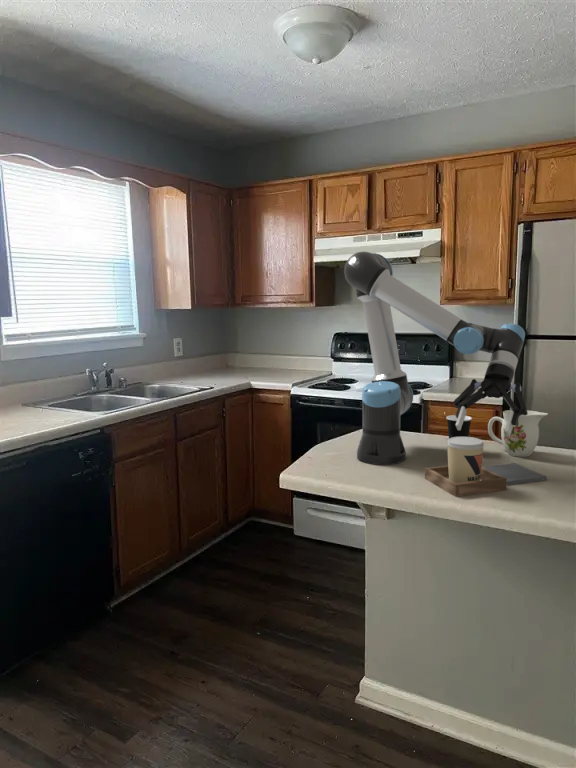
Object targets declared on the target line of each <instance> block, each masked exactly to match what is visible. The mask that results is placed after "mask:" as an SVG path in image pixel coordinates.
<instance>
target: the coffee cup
mask: <svg viewBox="0 0 576 768" xmlns="http://www.w3.org/2000/svg"><path fill="white" fill-rule="evenodd" d="M446 445H447V466H448V470H449V477H448V479H450V480H451V481H453V482H455V483H465V482H472V481H480V480H481V479H480V474H481V467H482V465H483V464H482V463H483V453H484V446H485V444H484V441H483V440H481V438H477V437H473V436H472V437H471V436H469V437H452V438H449V437H448V440H447V442H446Z"/></svg>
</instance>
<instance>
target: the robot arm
mask: <svg viewBox="0 0 576 768" xmlns="http://www.w3.org/2000/svg"><path fill="white" fill-rule="evenodd" d="M343 272H344V278H345V280H346V281H347V283H348V284H349V285H350V286H351V287H352V288H354V289H355V292H356V299H357V300H359V301H361V303H362V306H363V307H362V308H363V312H364V319H365V323H366V329H367V336H368V342H369V347H370V348H369V349H370V353H371V358H372V364H373V369H374V371H373V372H374V374H373V376H372V377H371V382H369V383H367V384H366V385H364V387H363V388H362V395H361V400H362V401H361V404H362V406H361V407H362V410H361V411H362V416H361V417H362V434H361V437H360V439H359V443H358V445H357V449H356V457H357V458H356V459H357V460H358V461H360V462H363V463H367V464H370V465H371V464H372V465H394V464H399V463H402V462H405V460H406V457H407V455H406V454H407V453H406V448H405V446H404V441H403V439H402V435H401V416H402V415H403V414H405V413H407V411H409V409H410V408H411V406H412V404H413V401H414V392H413V389H412V387H411V385H410V384H409V382H408V381H409V380H408V376H407V373H406V372H405V371H403V370H402V369H401V362H400V356H399V350H398V349H399V348H398V344H397V339H396V331H395V327H394V326H395V325H394V322H393V314H392V309H391V307H392V308H393V309H394V310H397V311H399V312H400V313H401V314H403V315H404V316H406V317H408V318H410V319H411V320H413V321H414V322H416V323H418V324H419V325H420V326H422V327H424V328H425V329H427V330H429V331H430V332H432V333H433V334H435V335H437V336H439V338H441V339H443V340H445V342H448V343H449V344H450V345H452V346H454V348H455V349H456V350H457V352H459V353H460V354H464V355H473V354H475V353H478V351H479V352H480V351H481V352H483V353H484V352H485V353H489V354H491V356H490V359H489V361H488V364H487V368H486V371H485V374H484V378H483V380H481V381H477V379H475V378H474V379H472V380H471V381H470V384H469V385H468V386H466V388H465V389H464V390H462V392H461V393H460V394H459V395H458V396H457V397H456V398H455V399H454V400H453V406H454V408H455V409H457V410H456V412H455V415H456V417H457V422H456V424H455V425H456V428H457V430H461V427H462V424H463V421H464V418H465V416H467V409H468V408H470V407H471V406H473V405H474V404H476V403H478V402H479V401H480V400H482V399H486V398H495V399H500V398H503V400H504V401H505V402H506V403H507V405H508V406H509V409H510V410H512V411H510V415H509V418H508V422H507V425H506V428H505V433H506V436H507V437H510V434H511V430H512V427H513V425H517V422H518V419H519V416H520V415H527V414H528V413H527V410H528V409H527V407H526V403H525V401H524V398H523V395H522V391H523V388H522V386H521V385H522V384H521V382H518V381H517V382H516V383H515V384H514V383H513V378H514V376H515V372H516V369H517V365H518V363H519V359H520V356H521V352H522V349H523V346H524V342H525V337H526V332H525V330H524V328H523V327H521V325H519V324H517V323H505V324H502V326H501V327H500V329H499V328H492V327H490V326H489V327H488V326H484V325H479V324H475V323H472V322H467V321H465V320H464V319H462V318H461V317H460V316H458V315H456V314H453V313H452V312H451V311H449V310H447V309H446V308H444V307H442V306H441V305H440V304H438V303H436V302H435V301H433V300H432V299H429V298H428V297H427V296H425V295H424V294H422V293H420V292H418V291H417V290H415V289H414V288H412V287H410V286H409V285H407V284H405V283H404V282H402V281H401V280H399V279H397V278H396V277H395V276H393V267H392V264H391V263H390V261H389V260H388V259H387V258H386V257H385V256H383V255H381V254H379V253H373V252H368V251H360V252H355V253H353V254H352V255H351V256H350V257H349V258H348V259H347V261H346V263H345V265H344V269H343ZM476 390H477V391H476ZM511 390H512V391H513V392H514V393H516V397H517V400H518V403H519V407H520V408H519V407H518V406H517V405H516V403H515V402H514V400H513V399H512V398H511V396H510V395H509V393H508V392H510V391H511Z"/></svg>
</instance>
